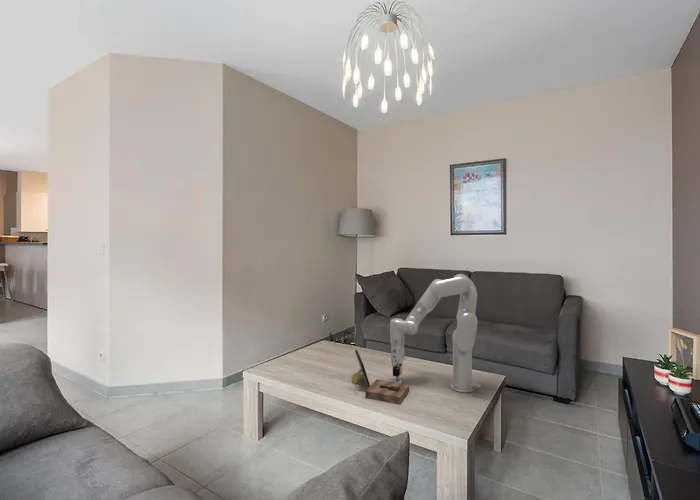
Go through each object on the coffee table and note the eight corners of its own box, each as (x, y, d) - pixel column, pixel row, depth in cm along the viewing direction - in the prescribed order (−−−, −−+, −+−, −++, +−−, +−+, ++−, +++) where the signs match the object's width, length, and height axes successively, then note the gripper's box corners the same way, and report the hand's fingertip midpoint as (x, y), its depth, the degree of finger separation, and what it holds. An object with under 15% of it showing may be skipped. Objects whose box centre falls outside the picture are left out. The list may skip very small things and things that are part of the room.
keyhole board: (409, 391, 182) (409, 384, 182) (400, 404, 168) (399, 397, 168) (376, 385, 190) (376, 379, 190) (365, 397, 176) (365, 390, 176)
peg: (402, 382, 193) (402, 364, 193) (400, 385, 189) (400, 367, 189) (395, 381, 195) (394, 363, 195) (392, 384, 191) (392, 366, 191)
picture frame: (371, 391, 183) (368, 363, 182) (354, 394, 182) (351, 366, 181) (364, 374, 206) (361, 349, 205) (349, 376, 205) (346, 351, 204)
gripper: (399, 346, 182) (399, 381, 183) (408, 338, 198) (408, 369, 198) (385, 345, 185) (385, 378, 186) (395, 336, 201) (396, 367, 202)
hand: (397, 373), depth 192 cm, fingers open, 5 cm apart
